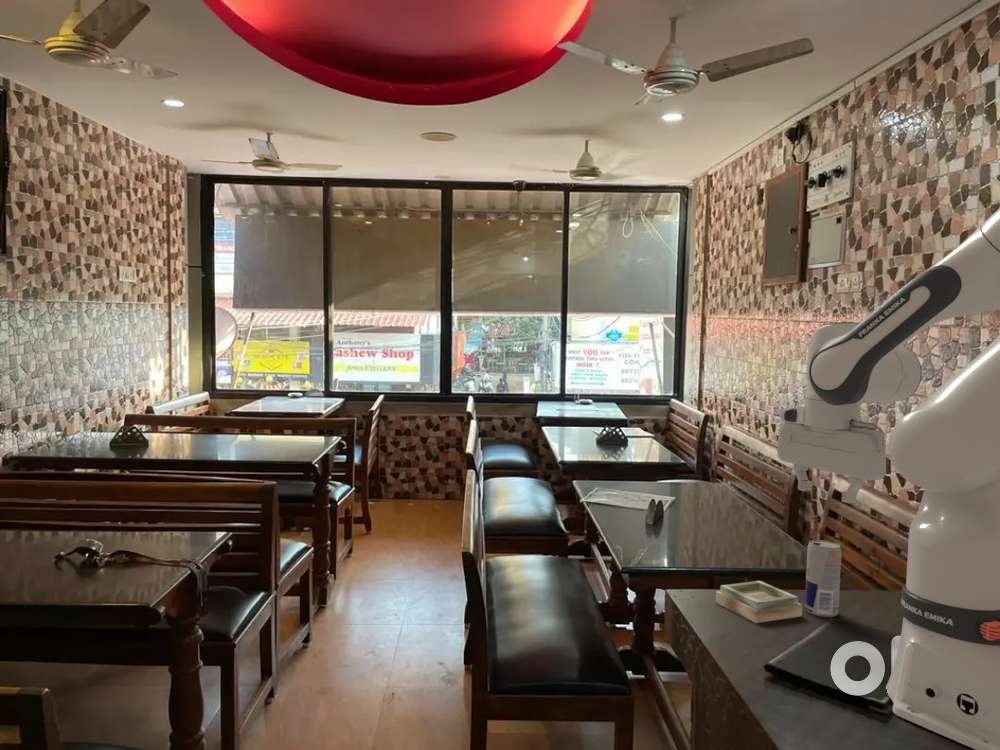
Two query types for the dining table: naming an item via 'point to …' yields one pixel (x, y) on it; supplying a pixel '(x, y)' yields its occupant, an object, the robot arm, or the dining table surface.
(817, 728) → the dining table surface
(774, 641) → the dining table surface
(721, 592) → the plinth
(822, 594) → the energy drink
